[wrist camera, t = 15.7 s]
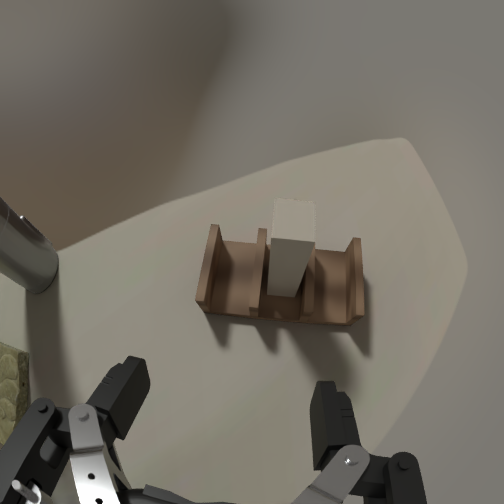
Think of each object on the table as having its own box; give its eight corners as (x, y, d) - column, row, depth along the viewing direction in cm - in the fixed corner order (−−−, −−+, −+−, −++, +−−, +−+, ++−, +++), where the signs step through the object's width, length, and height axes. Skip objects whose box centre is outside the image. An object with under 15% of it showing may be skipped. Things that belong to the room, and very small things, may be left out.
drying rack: (350, 325, 33) (364, 315, 28) (203, 312, 34) (195, 300, 29) (349, 256, 37) (360, 238, 33) (216, 244, 39) (211, 224, 34)
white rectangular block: (294, 297, 34) (315, 241, 21) (266, 294, 34) (271, 237, 21) (296, 268, 35) (315, 201, 23) (269, 265, 36) (275, 197, 23)
